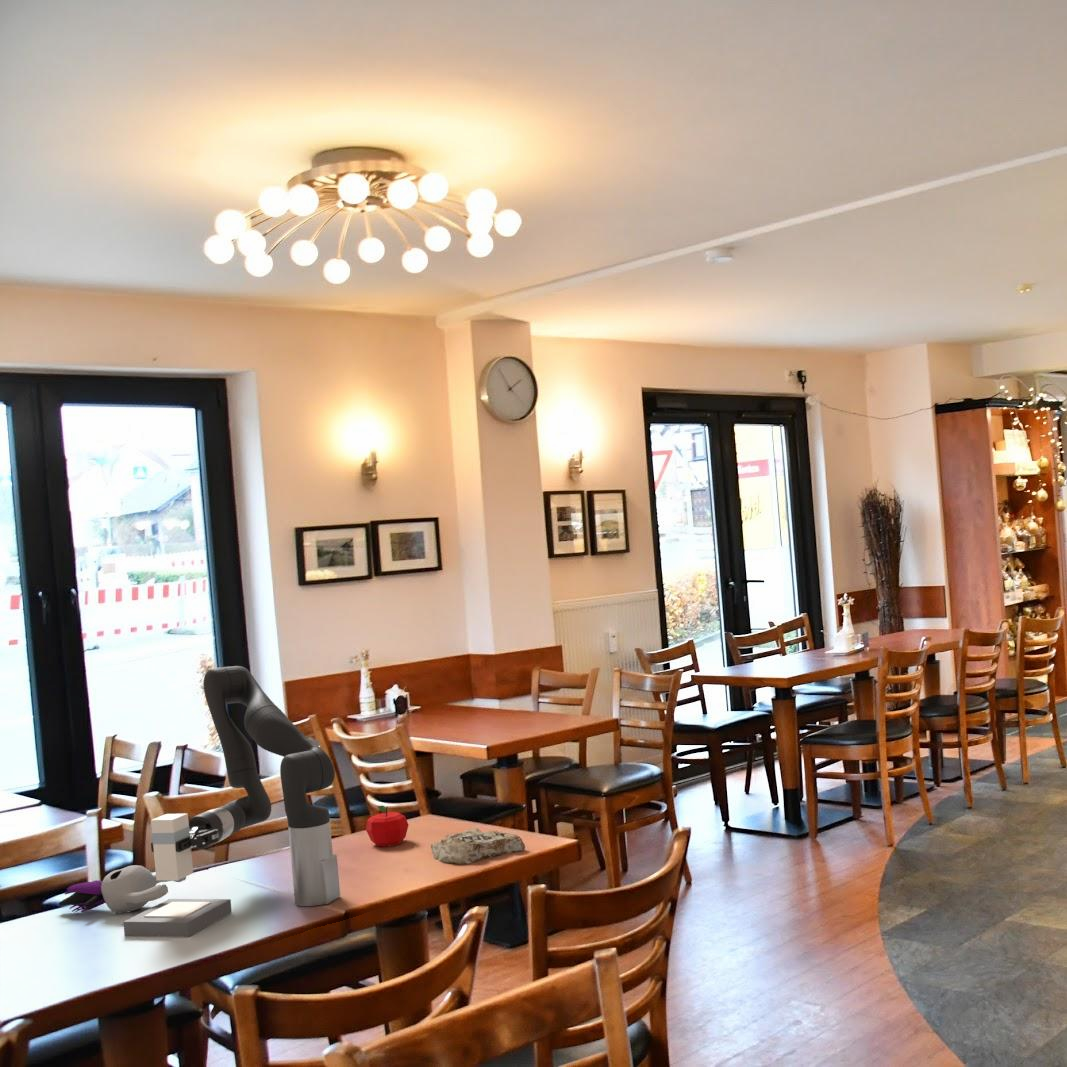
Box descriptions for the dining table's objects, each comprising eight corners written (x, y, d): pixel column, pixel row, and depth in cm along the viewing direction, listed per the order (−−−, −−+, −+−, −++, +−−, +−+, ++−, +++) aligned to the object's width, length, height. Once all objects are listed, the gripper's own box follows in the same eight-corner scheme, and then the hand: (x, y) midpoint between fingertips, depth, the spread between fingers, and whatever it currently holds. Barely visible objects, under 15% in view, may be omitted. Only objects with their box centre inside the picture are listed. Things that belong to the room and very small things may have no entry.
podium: (231, 912, 264) (230, 897, 264) (188, 936, 249) (187, 921, 249) (170, 912, 269) (169, 897, 269) (124, 935, 254) (123, 920, 254)
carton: (193, 872, 261) (188, 813, 261) (178, 880, 256) (172, 819, 256) (171, 873, 263) (166, 813, 263) (156, 880, 258) (150, 820, 258)
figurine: (74, 872, 285) (185, 846, 279) (85, 911, 286) (197, 886, 280) (34, 897, 270) (151, 869, 264) (46, 938, 270) (163, 912, 264)
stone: (460, 847, 285) (406, 831, 305) (462, 871, 284) (408, 854, 305) (525, 831, 296) (469, 816, 316) (527, 854, 296) (471, 838, 316)
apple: (417, 840, 317) (413, 803, 317) (385, 850, 309) (382, 811, 310) (391, 837, 324) (388, 800, 325) (360, 846, 317) (356, 808, 317)
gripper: (181, 811, 276) (135, 830, 259) (235, 810, 271) (191, 829, 255) (184, 844, 275) (138, 865, 259) (238, 843, 271) (194, 864, 255)
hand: (165, 847), depth 257 cm, fingers closed on carton, 5 cm apart
